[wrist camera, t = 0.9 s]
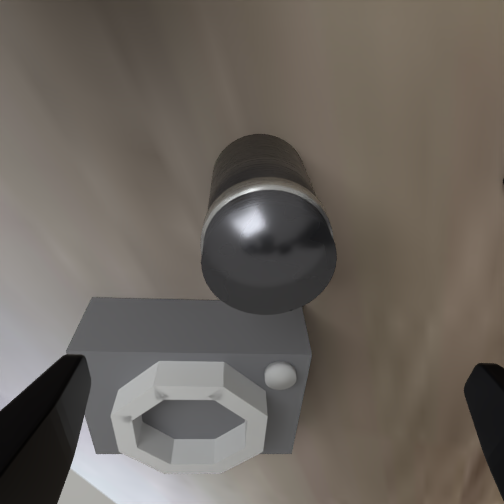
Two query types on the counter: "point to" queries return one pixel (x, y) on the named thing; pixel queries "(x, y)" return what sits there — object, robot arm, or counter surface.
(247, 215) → the lens
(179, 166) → the counter surface
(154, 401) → the camera body
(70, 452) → the robot arm
